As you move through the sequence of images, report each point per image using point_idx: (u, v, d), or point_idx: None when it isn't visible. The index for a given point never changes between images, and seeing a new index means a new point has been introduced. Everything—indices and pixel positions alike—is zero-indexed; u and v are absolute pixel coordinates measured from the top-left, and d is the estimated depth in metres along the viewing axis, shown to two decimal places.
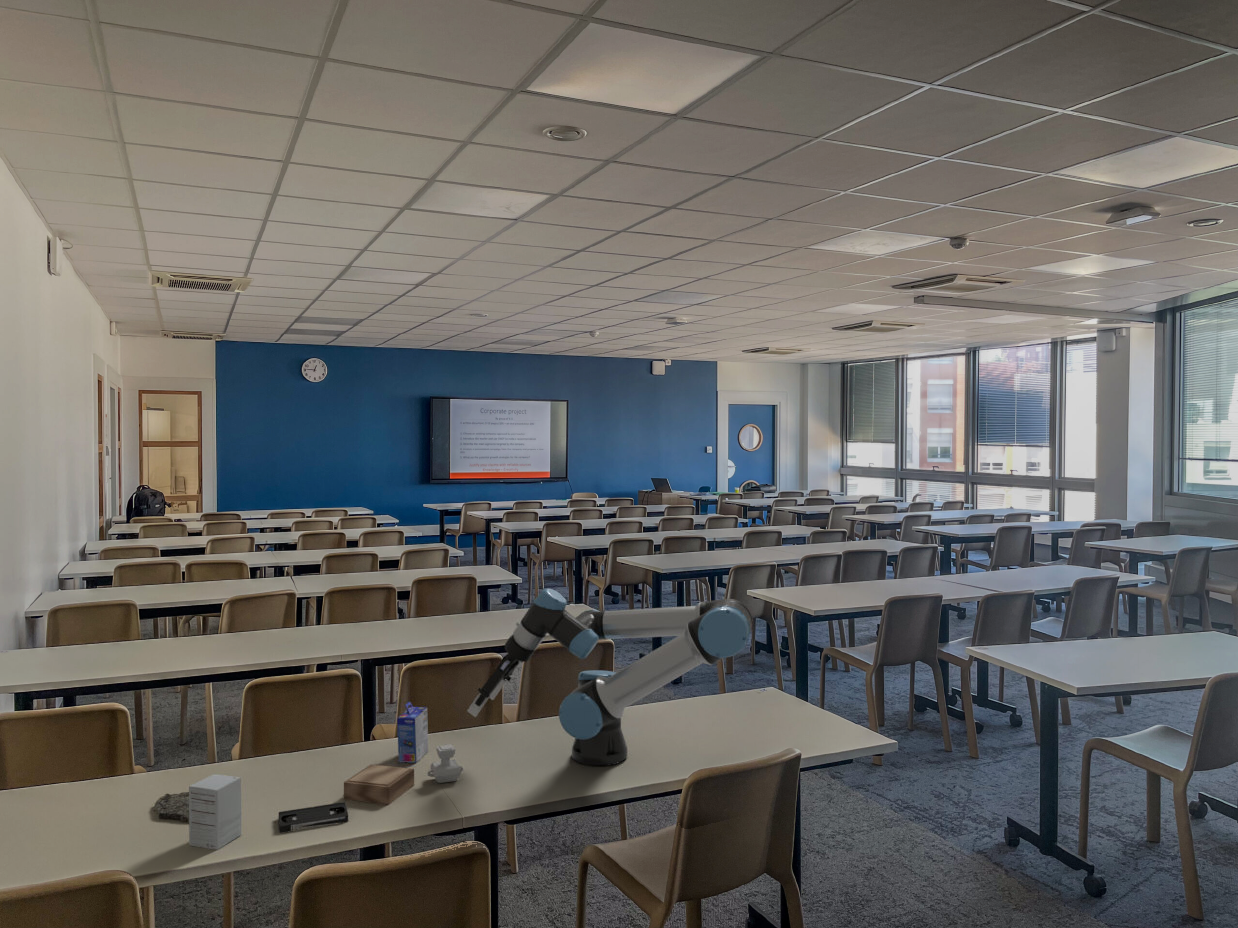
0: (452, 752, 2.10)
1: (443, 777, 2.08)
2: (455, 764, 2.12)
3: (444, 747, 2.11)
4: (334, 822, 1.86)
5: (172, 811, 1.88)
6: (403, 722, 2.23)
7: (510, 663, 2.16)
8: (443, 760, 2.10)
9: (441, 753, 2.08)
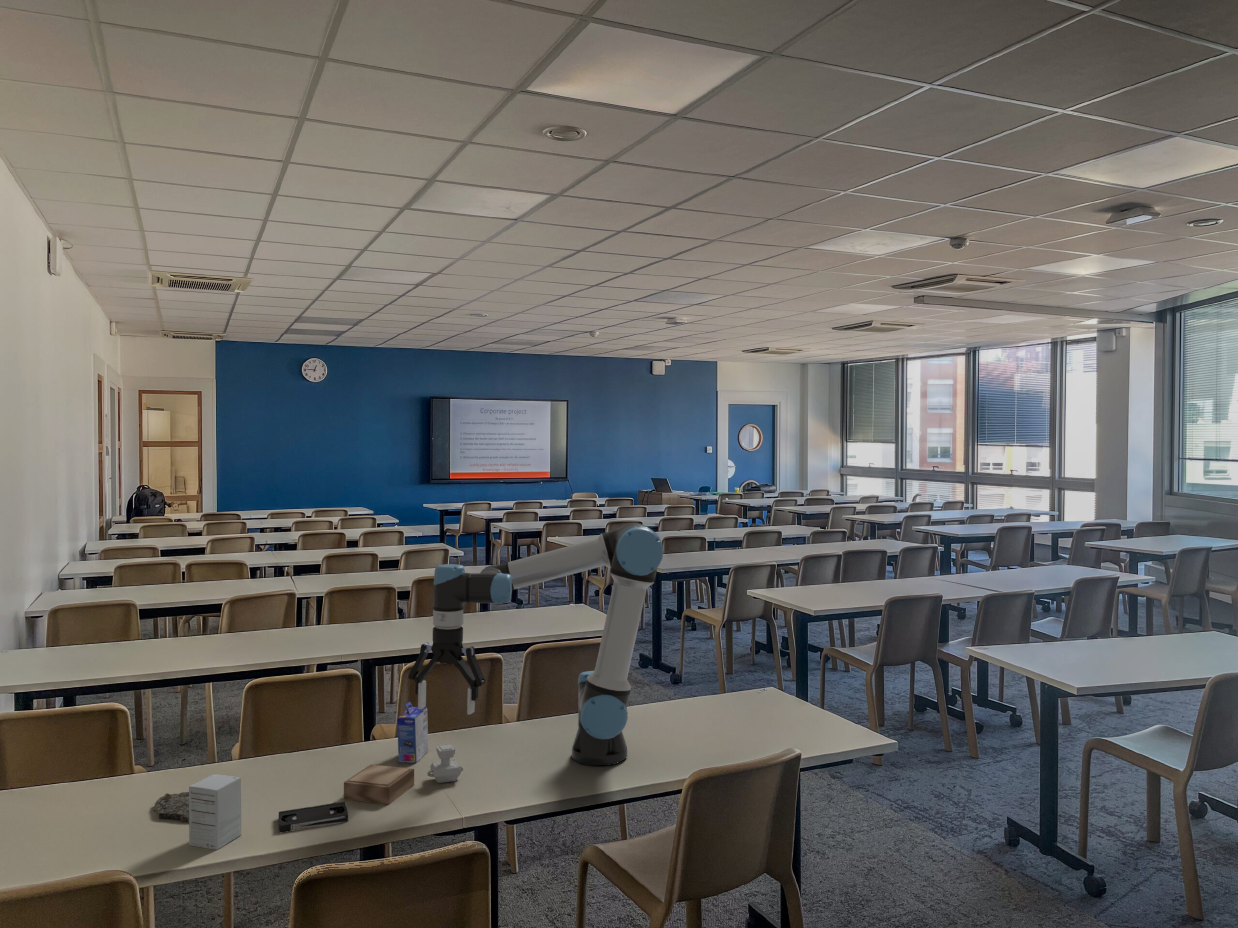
0: (452, 752, 2.10)
1: (443, 777, 2.08)
2: (455, 764, 2.12)
3: (444, 747, 2.11)
4: (334, 821, 1.86)
5: (172, 811, 1.88)
6: (403, 722, 2.23)
7: None
8: (443, 760, 2.10)
9: (441, 753, 2.08)
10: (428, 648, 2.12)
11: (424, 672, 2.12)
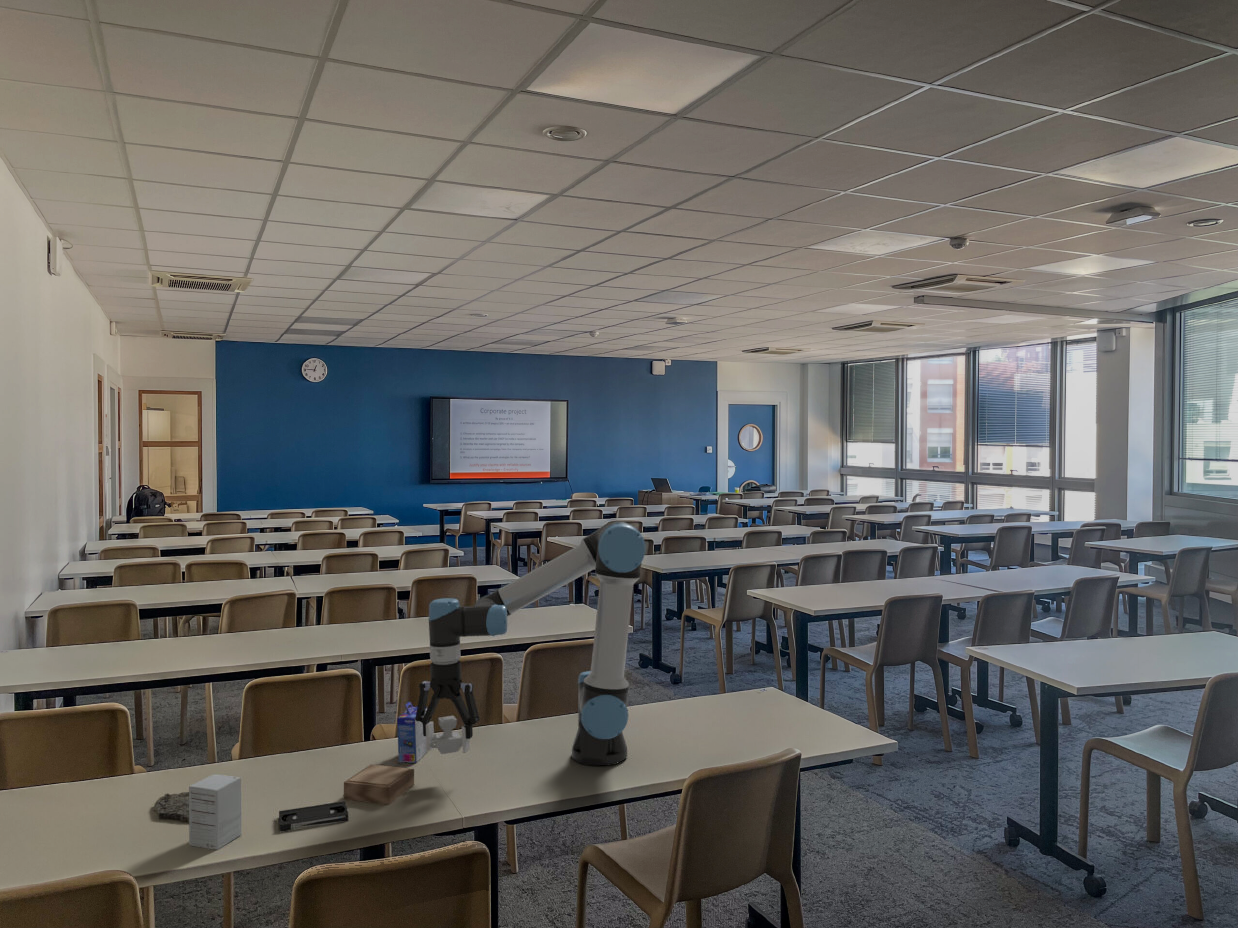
0: (454, 723, 2.10)
1: (446, 747, 2.08)
2: (457, 735, 2.12)
3: (446, 718, 2.11)
4: (334, 821, 1.86)
5: (172, 811, 1.88)
6: (403, 722, 2.23)
7: (462, 682, 2.11)
8: (445, 731, 2.10)
9: (443, 724, 2.08)
10: (427, 685, 2.12)
11: (429, 712, 2.11)
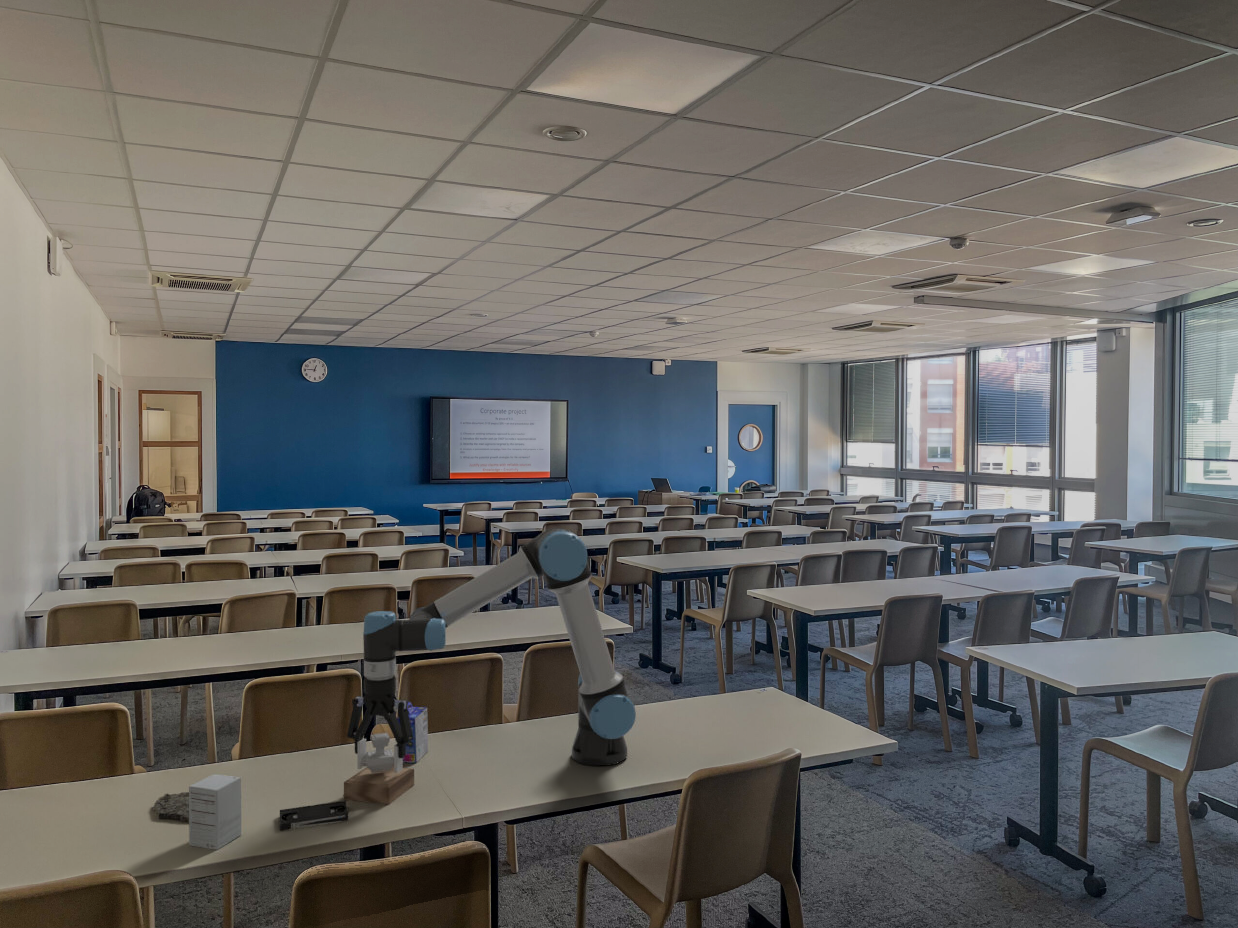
0: (386, 741, 2.02)
1: (376, 766, 2.00)
2: (390, 753, 2.04)
3: (378, 735, 2.03)
4: (334, 821, 1.86)
5: (172, 811, 1.88)
6: None
7: (396, 699, 2.03)
8: (377, 749, 2.02)
9: (375, 742, 2.01)
10: (360, 701, 2.04)
11: (361, 729, 2.03)
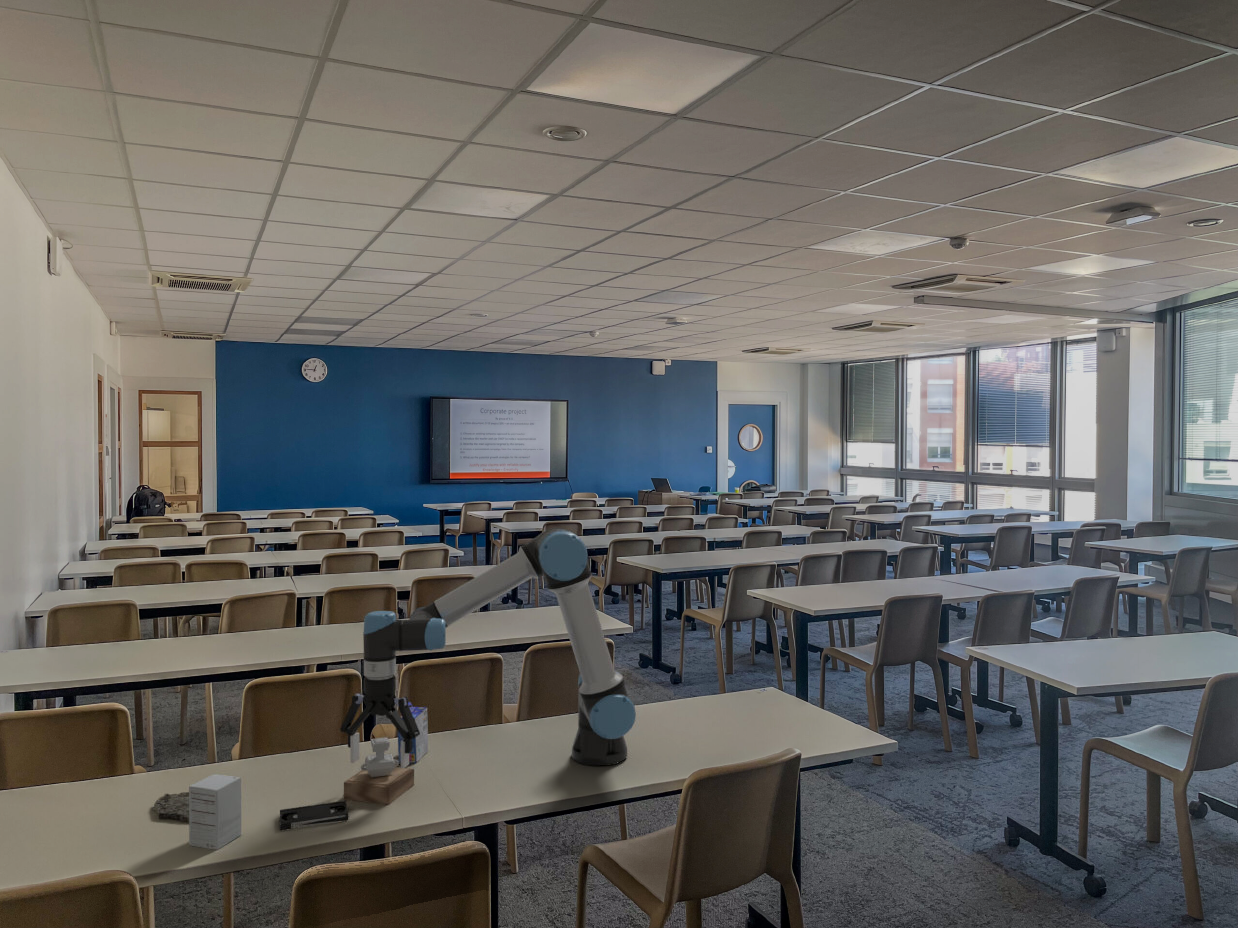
0: (386, 745, 2.02)
1: (376, 771, 2.00)
2: (390, 758, 2.04)
3: (378, 740, 2.03)
4: (334, 820, 1.86)
5: (172, 811, 1.88)
6: None
7: (396, 698, 2.03)
8: (377, 753, 2.02)
9: (375, 746, 2.01)
10: (360, 699, 2.04)
11: (356, 725, 2.04)
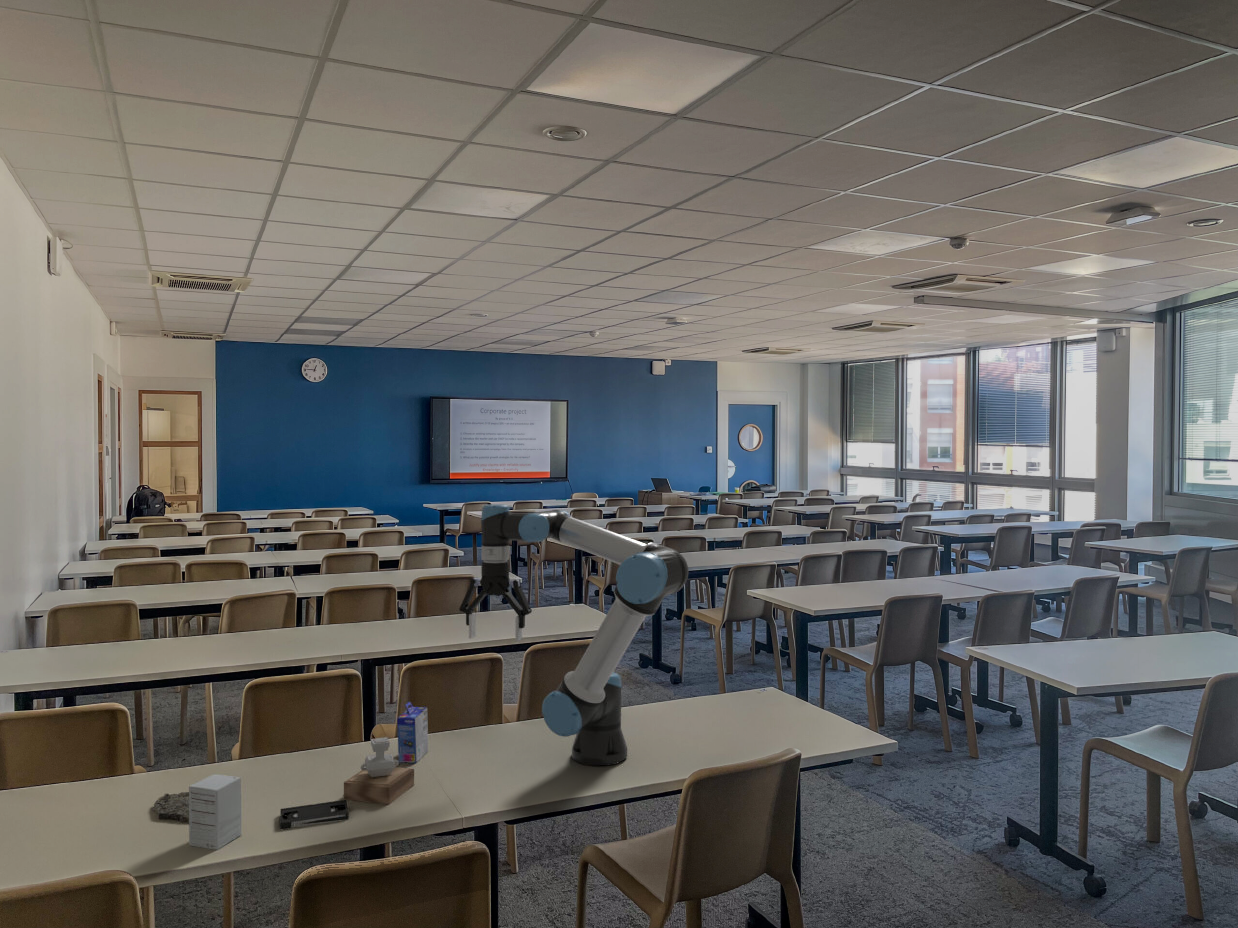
0: (386, 745, 2.02)
1: (376, 771, 2.00)
2: (390, 758, 2.04)
3: (378, 740, 2.03)
4: (334, 820, 1.87)
5: (172, 811, 1.88)
6: (403, 722, 2.23)
7: (510, 580, 2.29)
8: (377, 753, 2.02)
9: (374, 746, 2.01)
10: (477, 582, 2.30)
11: (474, 604, 2.29)
